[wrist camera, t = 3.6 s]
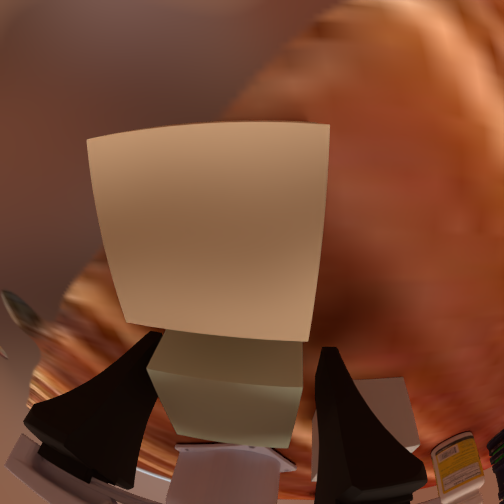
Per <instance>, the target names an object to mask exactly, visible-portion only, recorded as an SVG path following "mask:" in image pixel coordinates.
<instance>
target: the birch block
mask: <svg viewBox="0 0 504 504" xmlns="http://www.w3.org/2000/svg"><path fill="white" fill-rule="evenodd" d="M329 136H330V125H327V124H321V123H314V122H304V121H278V120H238V121H212V122H197V123H184V124H174V125H165V126H157V127H150V128H144V129H137V130H131V131H125V132H120V133H115V134H110V135H105V136H100V137H95V138H91V139H87V148H88V157H89V165H90V174H91V181H92V187H93V193H94V199H95V205H96V210H97V216H98V221H99V225H100V230H101V235H102V239H103V244H104V248H105V252H106V256H107V260H108V264H109V268H110V271H111V275H112V278H113V282H114V285H115V289H116V292H117V295H118V299H119V302H120V305H121V308H122V311H123V314H124V317H125V320H126V322H127V323H133V324H138V325H144V326H150V327H157V328H163V329H170V330H177V331H185V332H192V333H200V334H209V335H218V336H228V337H239V338H251V339H265V340H281V341H303V342H308V339H309V333H310V327H311V321H312V315H313V308H314V301H315V294H316V287H317V279H318V272H319V263H320V255H321V246H322V236H323V226H324V216H325V204H326V191H327V176H328V159H329Z"/></svg>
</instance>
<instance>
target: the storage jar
mask: <svg viewBox="0 0 504 504" xmlns="http://www.w3.org/2000/svg"><path fill="white" fill-rule="evenodd" d="M487 448H488V450H489V456H492V457H491V458H490V462H491V465H493V464H494V465H493V466H492V468H493V469H492V470H493V472H494V473H495V474H496V478H497V482H498V487H499V493H498V496H499V500H501V499H503V501H501V502H500V503H499V504H504V429H503V430H502V431H501V432H500V433H498V434H497V435H496V436H495V437H494V438H493V439H492V440H491V441H490V442H489V443H488V444H487Z"/></svg>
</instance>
